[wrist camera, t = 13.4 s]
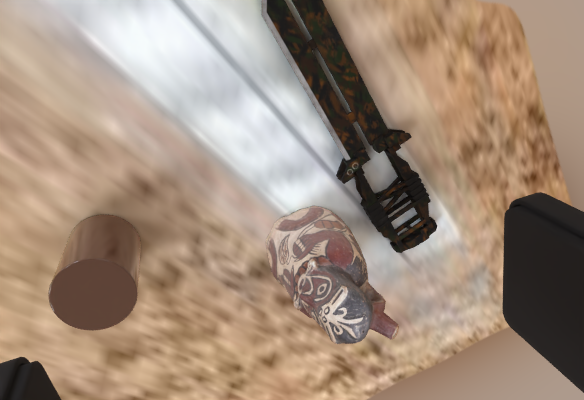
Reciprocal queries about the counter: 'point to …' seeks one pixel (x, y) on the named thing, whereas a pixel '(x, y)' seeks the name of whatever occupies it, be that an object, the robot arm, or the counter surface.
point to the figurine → (327, 275)
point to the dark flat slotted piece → (350, 117)
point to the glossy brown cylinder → (97, 274)
